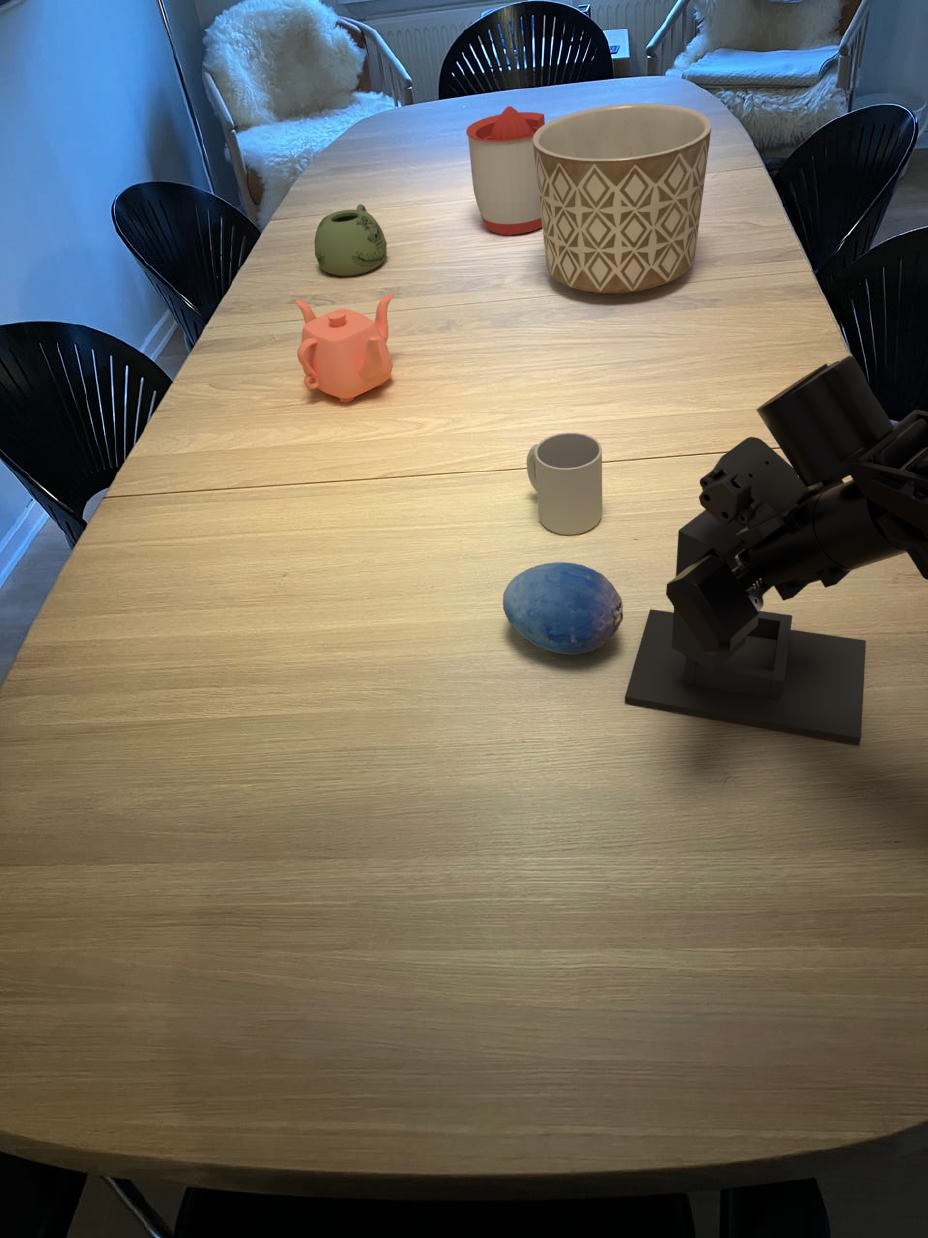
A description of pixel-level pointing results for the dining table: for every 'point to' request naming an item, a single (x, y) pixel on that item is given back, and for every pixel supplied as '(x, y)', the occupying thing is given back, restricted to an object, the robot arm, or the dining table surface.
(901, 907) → the dining table surface
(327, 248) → the green round vase
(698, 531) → the pad block
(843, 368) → the robot arm
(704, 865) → the dining table surface
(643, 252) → the planter
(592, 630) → the blue oval fruit
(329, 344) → the teapot
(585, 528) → the cup
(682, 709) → the base pad
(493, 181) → the citrus juicer
